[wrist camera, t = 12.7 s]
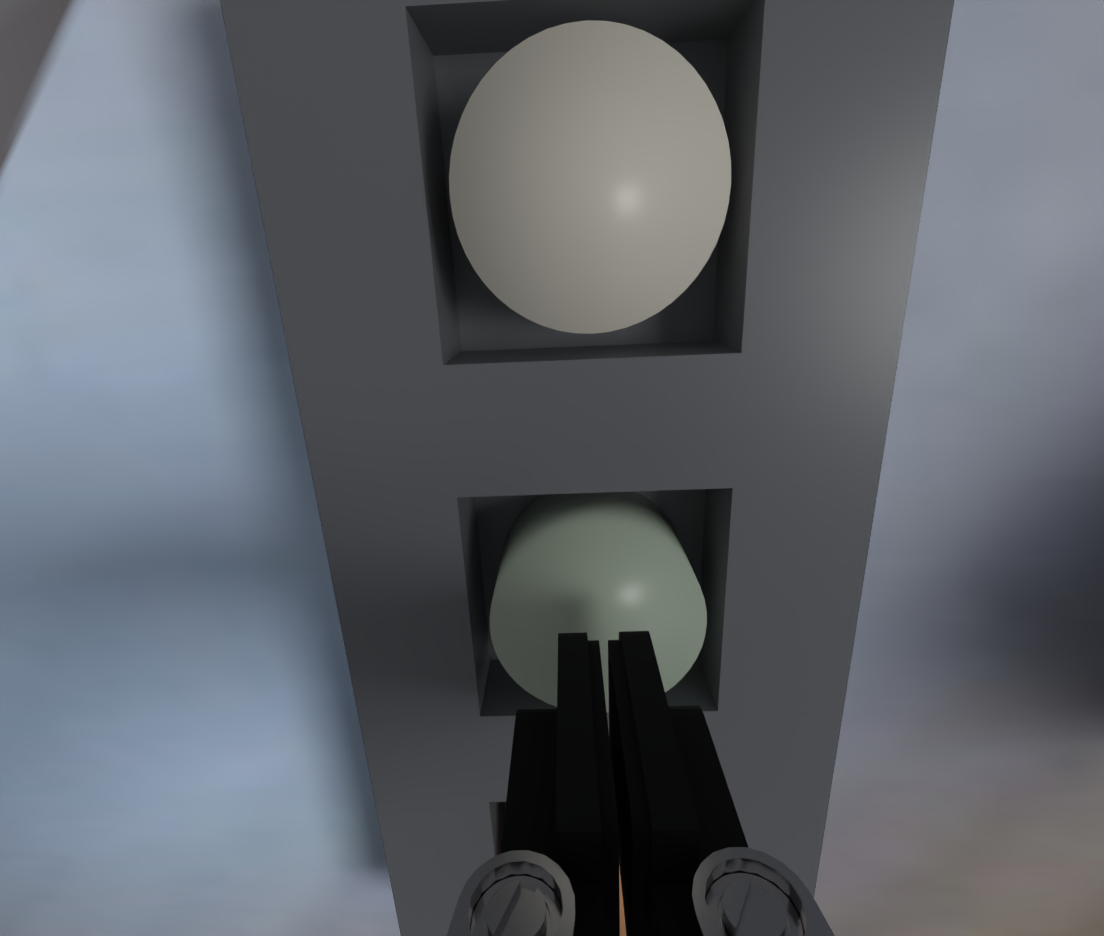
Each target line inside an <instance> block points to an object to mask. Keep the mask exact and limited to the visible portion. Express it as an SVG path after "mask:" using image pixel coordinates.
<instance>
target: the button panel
mask: <svg viewBox="0 0 1104 936" xmlns="http://www.w3.org/2000/svg"><path fill="white" fill-rule="evenodd" d="M220 2H221V7H222V13H223V18H224V23H225V28H226V33H227V38H228V44H229V49H230V54H231V59H232V64H233V70H234V75H235V80H236V85H237V90H238V95H239V101H240V106H241V111H242V116H243V121H244V126H245V132H246V137H247V142H248V147H249V152H250V157H251V163H252V168H253V173H254V178H255V183H256V189H257V194H258V199H259V204H260V209H261V214H262V220H263V225H264V230H265V235H266V240H267V245H268V251H269V256H270V261H271V266H272V271H273V276H274V282H275V287H276V292H277V297H278V302H279V308H280V313H281V318H282V323H283V328H284V333H285V339H286V344H287V349H288V354H289V359H290V364H291V370H292V375H293V380H294V385H295V390H296V395H297V401H298V406H299V411H300V416H301V421H302V427H303V432H304V437H305V442H306V447H307V452H308V458H309V463H310V468H311V473H312V478H313V483H314V489H315V494H316V499H317V504H318V509H319V514H320V520H321V525H322V530H323V535H324V540H325V546H326V551H327V556H328V561H329V566H330V571H331V577H332V582H333V587H334V592H335V597H336V602H337V608H338V613H339V618H340V623H341V628H342V633H343V639H344V644H345V649H346V654H347V659H348V665H349V670H350V675H351V680H352V685H353V690H354V696H355V701H356V706H357V711H358V716H359V721H360V727H361V732H362V737H363V742H364V747H365V752H366V758H367V763H368V768H369V773H370V778H371V784H372V789H373V794H374V799H375V804H376V809H377V815H378V820H379V825H380V830H381V835H382V840H383V846H384V851H385V856H386V861H387V866H388V871H389V877H390V882H391V887H392V892H393V897H394V903H395V908H396V913H397V918H398V923H399V928H400V934H401V936H447V933H448V930H449V927H450V924H451V920H452V917H453V914H454V911H455V908H456V905H457V901H458V898H459V896H460V894H461V892H462V890H463V888H464V886H465V884H466V881H467V880H468V879H469V878H470V876H471V875H472V874H473V873H474V872H475V871H476V869H477V868H478V867H479V866H480V865H482V864H483V863H485V862H486V861H488V860H489V859H491V858H492V857H494V856H496V855H499V854H500V852H501V843H502V834H503V825H504V816H505V807H506V798H507V789H508V780H509V771H510V762H511V753H512V744H513V735H514V726H515V718H516V712H517V709H557V707H556V706H553V705H551V704H548V703H546V702H544V701H542V700H540V699H538V698H536V697H534V696H533V695H531V694H530V693H528V692H527V691H525V690H524V689H523V688H522V687H521V686H520V685H518V684H517V683H516V682H515V681H514V680H513V679H512V677H511V676H510V675H509V674H508V673H507V671H506V670H505V669H504V667H503V666H502V664H501V663H500V661H499V659H498V657H497V655H496V653H495V649H494V646H493V643H492V640H491V634H490V610H491V603H492V599H493V594H494V589H495V585H496V580H497V575H498V571H499V566H500V561H501V557H502V552H503V547H504V544H505V541H506V537H507V535H508V533H509V531H510V529H511V527H512V525H513V524H514V522H515V521H516V519H517V518H518V516H519V515H520V514H521V513H522V512H523V511H524V509H526V508H527V507H528V506H529V505H530V504H531V503H532V502H534V501H535V500H536V499H538V498H539V497H541V496H542V495H544V494H574V493H603V492H632V491H636V492H638V493H640V494H641V495H643V496H645V497H646V498H648V499H649V500H650V501H652V502H653V503H654V504H655V505H657V506H658V507H659V508H660V510H661V511H662V512H663V513H664V514H665V515H666V517H667V518H668V519H669V521H670V522H671V524H672V526H673V528H674V530H675V532H676V534H677V536H678V538H679V540H680V543H681V545H682V547H683V549H684V552H685V554H686V556H687V558H688V560H689V563H690V565H691V567H692V569H693V572H694V574H695V576H696V578H697V581H698V583H699V585H700V587H701V590H702V593H703V596H704V599H705V605H706V610H707V626H706V634H705V638H704V642H703V645H702V648H701V650H700V652H699V655H698V657H697V659H696V660H695V662H694V664H693V665H692V667H691V668H690V670H689V671H688V672H687V673H686V674H685V676H684V677H683V678H682V679H681V680H680V681H679V682H678V683H677V684H676V685H675V686H673V687H672V688H671V689H669V690H668V691H667V692H665V695H666V699H667V702H668V706H698V705H699V706H700V708H701V709H702V711H703V714H704V716H705V719H706V722H707V725H708V728H709V731H710V734H711V737H712V740H713V743H714V746H715V749H716V752H717V755H718V758H719V761H720V764H721V767H722V770H723V773H724V776H725V779H726V782H727V785H728V788H729V791H730V794H731V797H732V800H733V803H734V806H735V809H736V812H737V815H738V818H739V821H740V824H741V827H742V829H743V832H744V835H745V838H746V841H747V844H748V847H749V848H751V849H754V850H758V851H762V852H765V853H766V854H768V855H770V856H772V857H774V858H776V859H777V860H779V861H781V862H783V863H784V864H785V865H786V866H787V867H788V868H789V869H791V870H792V871H793V872H794V873H795V874H796V875H797V876H798V877H799V878H800V879H801V881H802V882H803V883H804V885H805V886H806V888H807V889H808V890H809V892H810V893H811V895H812V896H813V898H814V893H815V887H816V881H817V874H818V868H819V861H820V855H821V849H822V842H823V836H824V829H825V823H826V817H827V810H828V804H829V797H830V791H831V785H832V778H833V772H834V765H835V759H836V753H837V746H838V740H839V734H840V727H841V721H842V714H843V708H844V702H845V695H846V689H847V682H848V676H849V670H850V663H851V657H852V650H853V644H854V638H855V631H856V625H857V618H858V612H859V606H860V599H861V593H862V587H863V580H864V574H865V567H866V561H867V555H868V548H869V542H870V535H871V529H872V523H873V516H874V510H875V503H876V497H877V491H878V484H879V478H880V471H881V465H882V459H883V452H884V446H885V439H886V433H887V427H888V420H889V414H890V408H891V401H892V395H893V388H894V382H895V376H896V369H897V363H898V356H899V350H900V344H901V337H902V331H903V324H904V318H905V312H906V305H907V299H908V292H909V286H910V280H911V273H912V267H913V260H914V254H915V248H916V241H917V235H918V229H919V222H920V216H921V209H922V203H923V197H924V190H925V184H926V177H927V171H928V165H929V158H930V152H931V145H932V139H933V133H934V126H935V120H936V113H937V107H938V101H939V94H940V88H941V81H942V75H943V69H944V62H945V56H946V50H947V43H948V37H949V30H950V24H951V18H952V11H953V5H954V0H220ZM585 20H592V21H610V22H616V23H621V24H626V25H629V26H632V27H635V28H638V29H641V30H644V31H646V32H648V33H650V34H651V35H653V36H655V37H657V38H659V39H661V40H663V41H664V42H665V43H667V44H668V45H669V46H671V47H672V48H673V49H675V50H676V51H677V52H679V53H680V54H681V55H682V56H683V57H684V58H685V59H686V60H687V61H688V62H689V63H690V64H691V65H692V66H693V67H694V69H695V70H696V71H697V73H698V74H699V75H700V77H701V78H702V79H703V81H704V82H705V83H706V85H707V87H708V89H709V91H710V92H711V94H712V96H713V98H714V100H715V101H716V104H717V106H718V109H719V111H720V114H721V116H722V119H723V122H724V126H725V130H726V133H727V137H728V141H729V149H730V157H731V189H730V198H729V205H728V209H727V213H726V217H725V222H724V225H723V228H722V230H721V233H720V236H719V239H718V241H717V244H716V246H715V248H714V250H713V252H712V254H711V256H710V258H709V259H708V261H707V263H706V264H705V266H704V267H703V269H702V270H701V272H700V273H699V275H698V276H697V277H696V278H695V280H694V281H693V282H692V283H691V284H690V285H689V287H688V288H687V289H686V290H685V291H684V292H683V293H682V294H681V295H680V296H679V297H678V298H676V299H675V300H674V301H673V302H672V303H671V304H669V305H668V306H667V307H665V308H664V309H662V310H661V311H660V312H658V313H657V314H655V315H653V316H651V317H649V318H647V319H646V320H644V321H642V322H639V323H637V324H634V325H632V326H629V327H627V328H623V329H619V330H615V331H611V332H603V333H594V334H583V333H570V332H564V331H558V330H555V329H551V328H548V327H545V326H542V325H539V324H537V323H535V322H533V321H531V320H528V319H526V318H525V317H523V316H521V315H520V314H518V313H517V312H515V311H513V310H512V309H510V308H509V307H508V306H507V305H506V304H504V303H503V302H502V301H501V300H499V299H498V298H497V297H496V296H495V295H494V294H493V293H492V291H491V290H490V289H489V288H488V287H487V286H486V285H485V284H484V282H483V281H482V280H481V278H480V277H479V276H478V274H477V273H476V271H475V270H474V268H473V267H472V265H471V263H470V261H469V259H468V258H467V256H466V254H465V252H464V249H463V247H462V244H461V242H460V240H459V237H458V234H457V231H456V227H455V223H454V220H453V216H452V209H451V203H450V193H449V170H450V158H451V152H452V147H453V142H454V137H455V134H456V131H457V128H458V125H459V122H460V119H461V116H462V114H463V111H464V109H465V107H466V105H467V103H468V101H469V99H470V97H471V95H472V94H473V92H474V91H475V89H476V88H477V86H478V84H479V83H480V81H481V80H482V78H483V77H484V76H485V75H486V74H487V73H488V71H489V70H490V69H491V68H492V67H493V66H494V64H495V63H496V62H497V61H498V60H500V59H501V58H502V57H503V56H504V55H505V54H506V53H507V52H509V51H510V50H511V49H512V48H514V47H515V46H517V45H518V44H520V43H521V42H523V41H524V40H526V39H527V38H529V37H531V36H533V35H535V34H537V33H539V32H541V31H544V30H546V29H548V28H552V27H555V26H558V25H562V24H565V23H571V22H578V21H585ZM607 721H608V730H609V713H607Z"/></svg>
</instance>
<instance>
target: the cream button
mask: <svg viewBox="0 0 1104 936" xmlns="http://www.w3.org/2000/svg"><path fill="white" fill-rule="evenodd" d="M730 189H731V157H730V149H729V141H728V137H727V133H726V130H725V126H724V122H723V119H722V116H721V114H720V111H719V109H718V106H717V104H716V101H715V100H714V98H713V96H712V94H711V92H710V91H709V89H708V87H707V85H706V83H705V82H704V81H703V79H702V78H701V77H700V75H699V74H698V73H697V71H696V70H695V69H694V67H693V66H692V65H691V64H690V63H689V62H688V61H687V60H686V59H685V58H684V57H683V56H682V55H681V54H680V53H679V52H677V51H676V50H675V49H673V48H672V47H671V46H669V45H668V44H667V43H665V42H664V41H663V40H661V39H659V38H657V37H655V36H653V35H651V34H650V33H648V32H646V31H644V30H641V29H638V28H635V27H632V26H629V25H626V24H621V23H616V22H610V21H592V20H585V21H578V22H571V23H565V24H562V25H558V26H555V27H552V28H548V29H546V30H544V31H541V32H539V33H537V34H535V35H533V36H531V37H529V38H527V39H526V40H524V41H523V42H521V43H520V44H518V45H517V46H515V47H514V48H512V49H511V50H510V51H509V52H507V53H506V54H505V55H504V56H503V57H502V58H501V59H500V60H498V61H497V62H496V63H495V64H494V66H493V67H492V68H491V69H490V70H489V71H488V73H487V74H486V75H485V76H484V77H483V78H482V80H481V81H480V83H479V84H478V86H477V88H476V89H475V91H474V92H473V94H472V95H471V97H470V99H469V101H468V103H467V105H466V107H465V109H464V111H463V114H462V116H461V119H460V122H459V125H458V128H457V131H456V134H455V137H454V142H453V147H452V152H451V158H450V170H449V193H450V203H451V209H452V216H453V220H454V223H455V227H456V231H457V234H458V237H459V240H460V242H461V244H462V247H463V249H464V252H465V254H466V256H467V258H468V259H469V261H470V263H471V265H472V267H473V268H474V270H475V271H476V273H477V274H478V276H479V277H480V278H481V280H482V281H483V282H484V284H485V285H486V286H487V287H488V288H489V289H490V290H491V291H492V293H493V294H494V295H495V296H496V297H497V298H498V299H499V300H501V301H502V302H503V303H504V304H506V305H507V306H508V307H509V308H510V309H512V310H513V311H515V312H517V313H518V314H520V315H521V316H523V317H525V318H526V319H528V320H531V321H533V322H535V323H537V324H539V325H542V326H545V327H548V328H551V329H555V330H558V331H564V332H570V333H583V334H594V333H603V332H611V331H615V330H619V329H623V328H627V327H629V326H632V325H634V324H637V323H639V322H642V321H644V320H646V319H647V318H649V317H651V316H653V315H655V314H657V313H658V312H660V311H661V310H662V309H664V308H665V307H667V306H668V305H669V304H671V303H672V302H673V301H674V300H675V299H676V298H678V297H679V296H680V295H681V294H682V293H683V292H684V291H685V290H686V289H687V288H688V287H689V285H690V284H691V283H692V282H693V281H694V280H695V278H696V277H697V276H698V275H699V273H700V272H701V270H702V269H703V267H704V266H705V264H706V263H707V261H708V259H709V258H710V256H711V254H712V252H713V250H714V248H715V246H716V244H717V241H718V239H719V236H720V233H721V230H722V228H723V225H724V222H725V217H726V213H727V209H728V205H729V198H730Z"/></svg>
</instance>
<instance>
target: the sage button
mask: <svg viewBox="0 0 1104 936" xmlns="http://www.w3.org/2000/svg"><path fill="white" fill-rule="evenodd" d="M706 626H707V610H706V605H705V599H704V596H703V593H702V590H701V587H700V585H699V583H698V581H697V578H696V576H695V574H694V572H693V569H692V567H691V565H690V563H689V560H688V558H687V556H686V554H685V552H684V549H683V547H682V545H681V543H680V540H679V538H678V536H677V534H676V532H675V530H674V528H673V526H672V524H671V522H670V521H669V519H668V518H667V517H666V515H665V514H664V513H663V512H662V511H661V510H660V508H659V507H658V506H657V505H655V504H654V503H653V502H652V501H650V500H649V499H648V498H646V497H645V496H643V495H641V494H640V493H638V492H636V491H632V492H603V493H574V494H544V495H542V496H541V497H539V498H538V499H536V500H535V501H534V502H532V503H531V504H530V505H529V506H528V507H527V508H526V509H524V511H523V512H522V513H521V514H520V515H519V516H518V518H517V519H516V521H515V522H514V524H513V525H512V527H511V529H510V531H509V533H508V535H507V537H506V541H505V544H504V547H503V552H502V557H501V561H500V566H499V571H498V575H497V580H496V585H495V589H494V594H493V599H492V603H491V610H490V634H491V640H492V643H493V646H494V649H495V653H496V655H497V657H498V659H499V661H500V663H501V664H502V666H503V667H504V669H505V670H506V671H507V673H508V674H509V675H510V676H511V677H512V679H513V680H514V681H515V682H516V683H517V684H518V685H520V686H521V687H522V688H523V689H524V690H525V691H527V692H528V693H530V694H531V695H533V696H534V697H536V698H538V699H540V700H542V701H544V702H546V703H548V704H551V705H553V706H556V707H557V678H558V633H583V632H587V638H588V640H599V645H600V654H601V664H602V673H603V683H604V692H605V702H606V711H607V713H609V690H608V640H619V632H622V631H649V633H650V636H651V640H652V644H653V648H654V652H655V656H656V660H657V663H658V667H659V671H660V675H661V679H662V683H663V687H664V691H665V692H667V691H668V690H669V689H671V688H672V687H673V686H675V685H676V684H677V683H678V682H679V681H680V680H681V679H682V678H683V677H684V676H685V674H686V673H687V672H688V671H689V670H690V668H691V667H692V665H693V664H694V662H695V660H696V659H697V657H698V655H699V652H700V650H701V648H702V645H703V642H704V638H705V634H706Z"/></svg>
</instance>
